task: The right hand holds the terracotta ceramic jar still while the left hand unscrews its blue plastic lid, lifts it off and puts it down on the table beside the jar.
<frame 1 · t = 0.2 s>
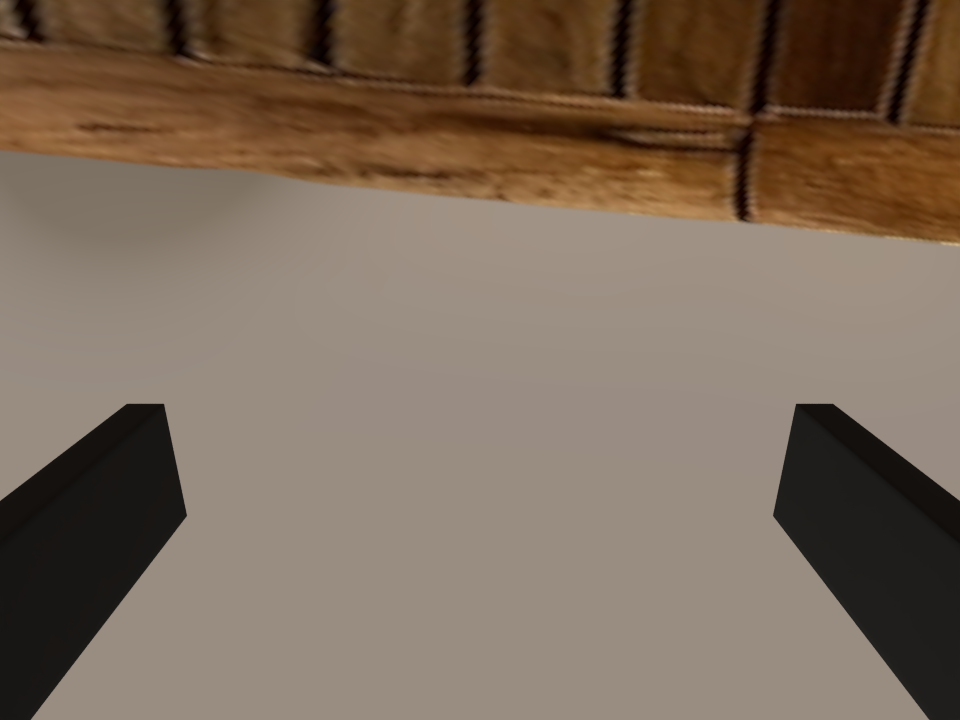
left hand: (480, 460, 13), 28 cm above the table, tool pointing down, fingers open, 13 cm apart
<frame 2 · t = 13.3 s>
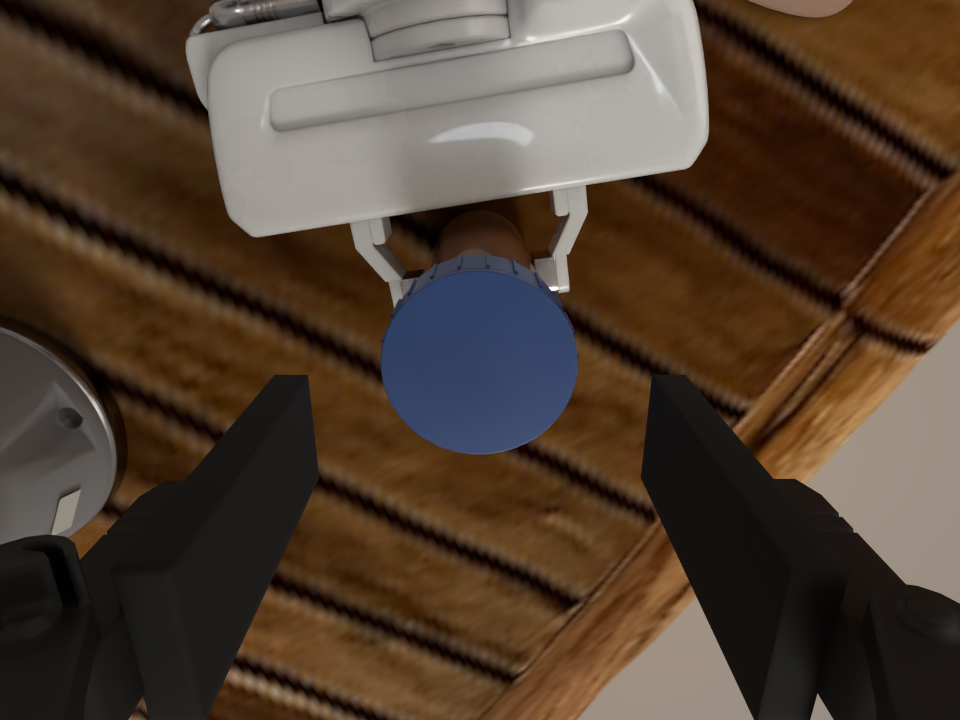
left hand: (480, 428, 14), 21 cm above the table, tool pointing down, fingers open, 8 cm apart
right hand: (483, 301, 28), fingers closed on jar, 5 cm apart
jar: (479, 256, 34), on the table, touching right hand
lid: (479, 363, 18), point 17 cm above the table, screwed on, not yet turned
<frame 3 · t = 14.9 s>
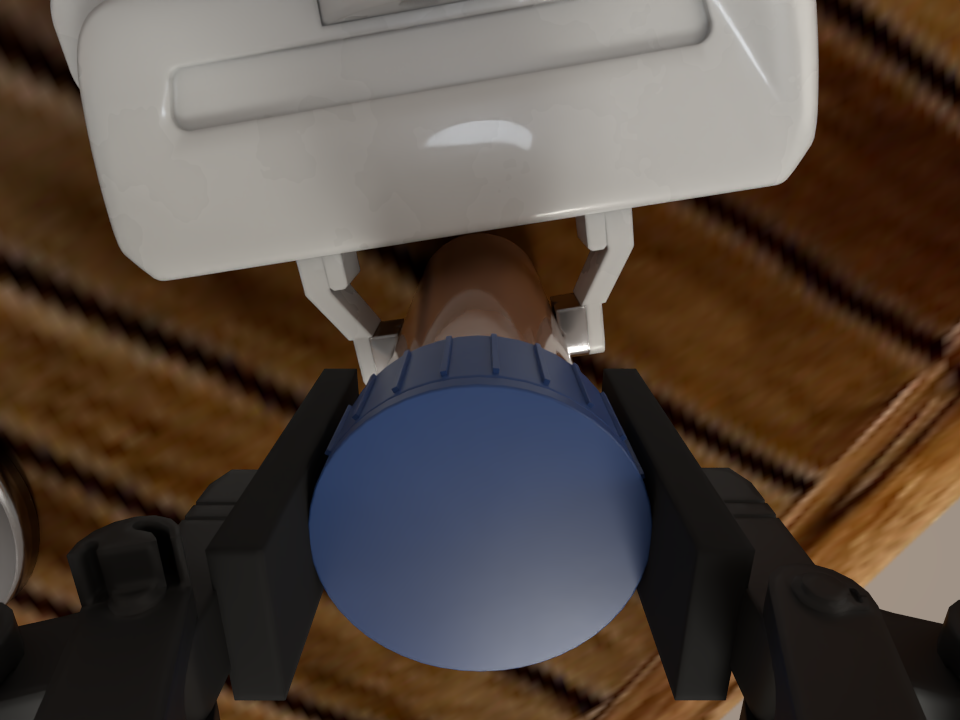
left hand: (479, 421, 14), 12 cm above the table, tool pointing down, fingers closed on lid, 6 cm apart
right hand: (485, 364, 20), fingers closed on jar, 5 cm apart
jar: (480, 292, 26), on the table, touching right hand
lid: (480, 530, 10), point 17 cm above the table, screwed on, not yet turned, touching left hand
when the left hand's fingers open (13 cm above the table, at t = 16.4 s): lid stays where it is, point 17 cm above the table.
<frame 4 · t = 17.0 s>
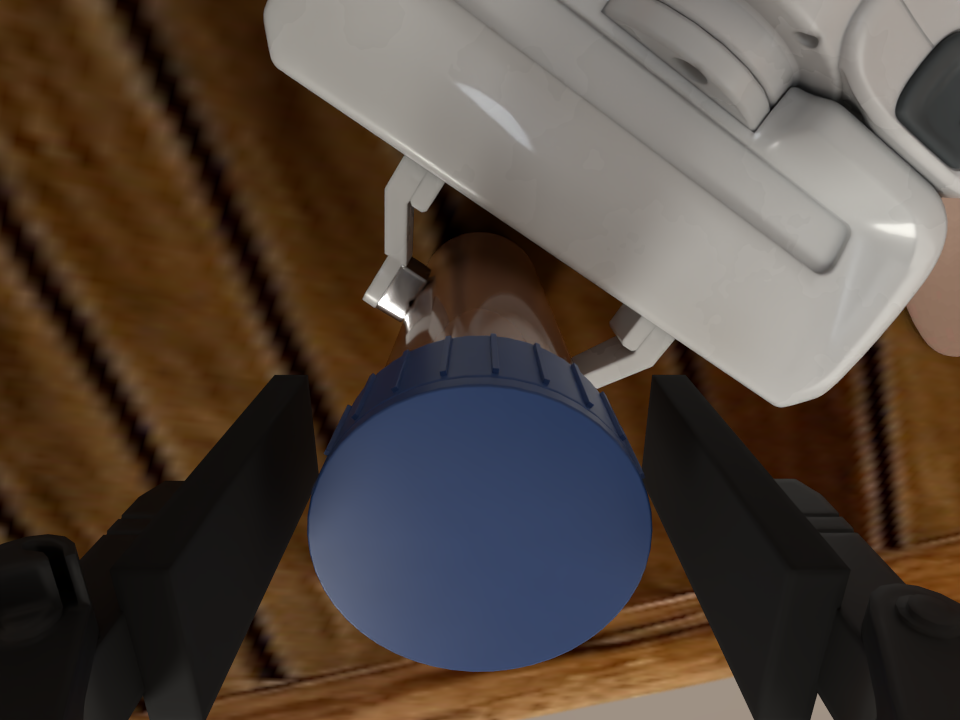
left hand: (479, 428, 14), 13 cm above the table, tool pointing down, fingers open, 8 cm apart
right hand: (466, 358, 21), fingers closed on jar, 5 cm apart
jar: (479, 291, 26), on the table, touching right hand
lid: (479, 530, 10), point 17 cm above the table, turned 91° so far, risen 0.2 cm, still on its thread
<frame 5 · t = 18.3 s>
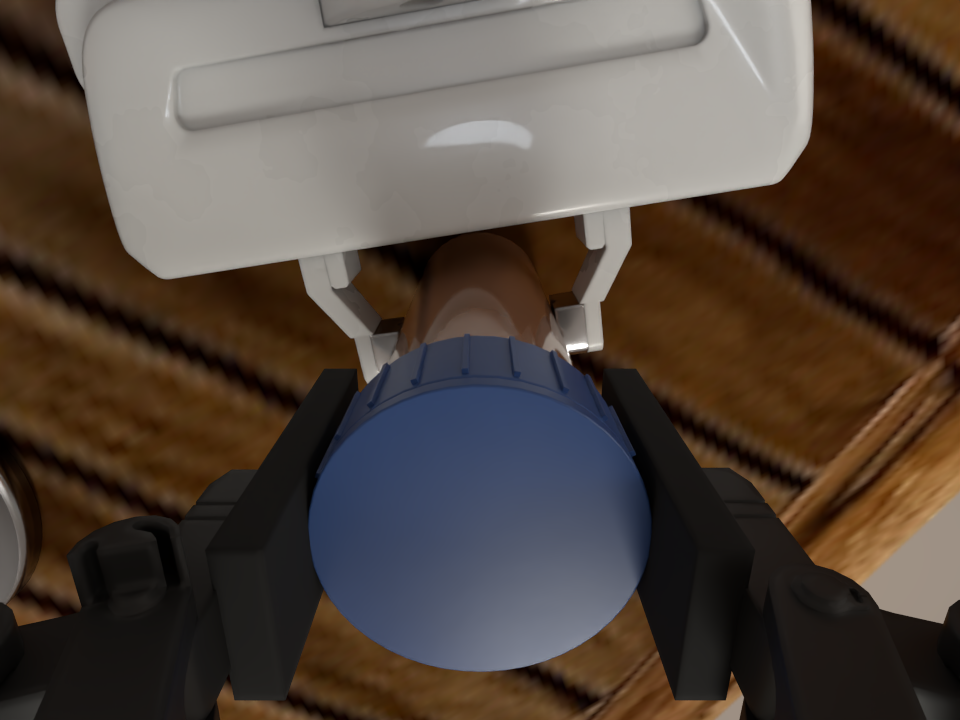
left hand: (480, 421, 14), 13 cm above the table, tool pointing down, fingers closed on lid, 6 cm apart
right hand: (485, 361, 21), fingers closed on jar, 5 cm apart
jar: (479, 291, 26), on the table, touching right hand
lid: (479, 530, 10), point 17 cm above the table, turned 91° so far, risen 0.2 cm, still on its thread, touching left hand
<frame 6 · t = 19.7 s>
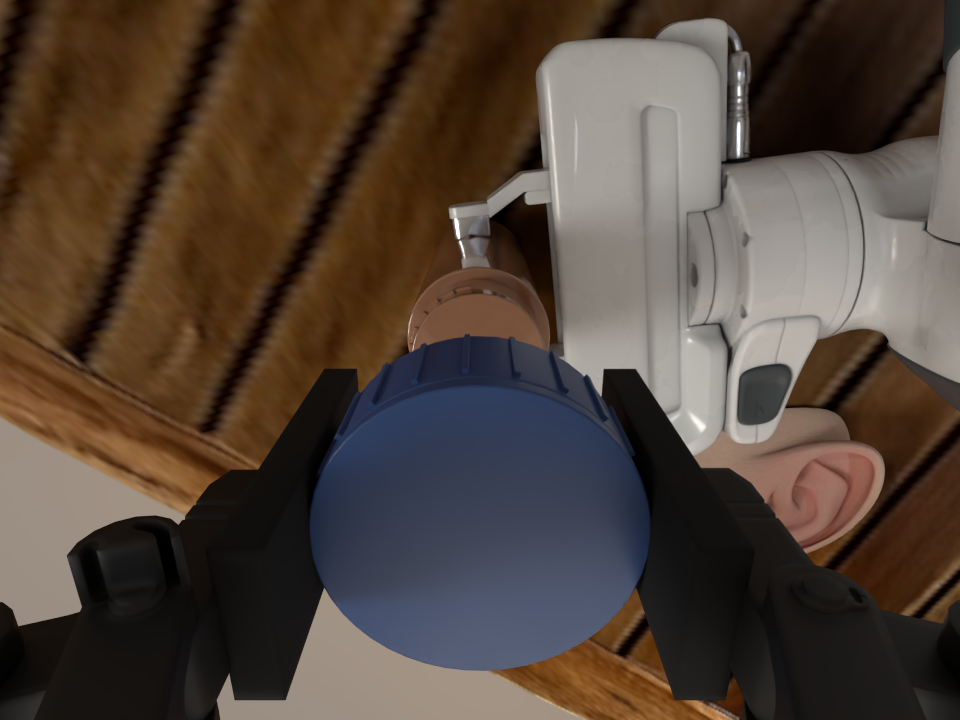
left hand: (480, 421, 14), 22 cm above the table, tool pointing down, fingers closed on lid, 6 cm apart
right hand: (460, 290, 29), fingers closed on jar, 5 cm apart
jar: (478, 262, 35), on the table, touching right hand
anatomical model: (745, 482, 40), on the table
lid: (479, 530, 11), point 26 cm above the table, off its thread, touching left hand
when the left hand's fingers open (0 cm above the table, at t = 25.8 s): lid drops 2 cm, point 2 cm above the table.
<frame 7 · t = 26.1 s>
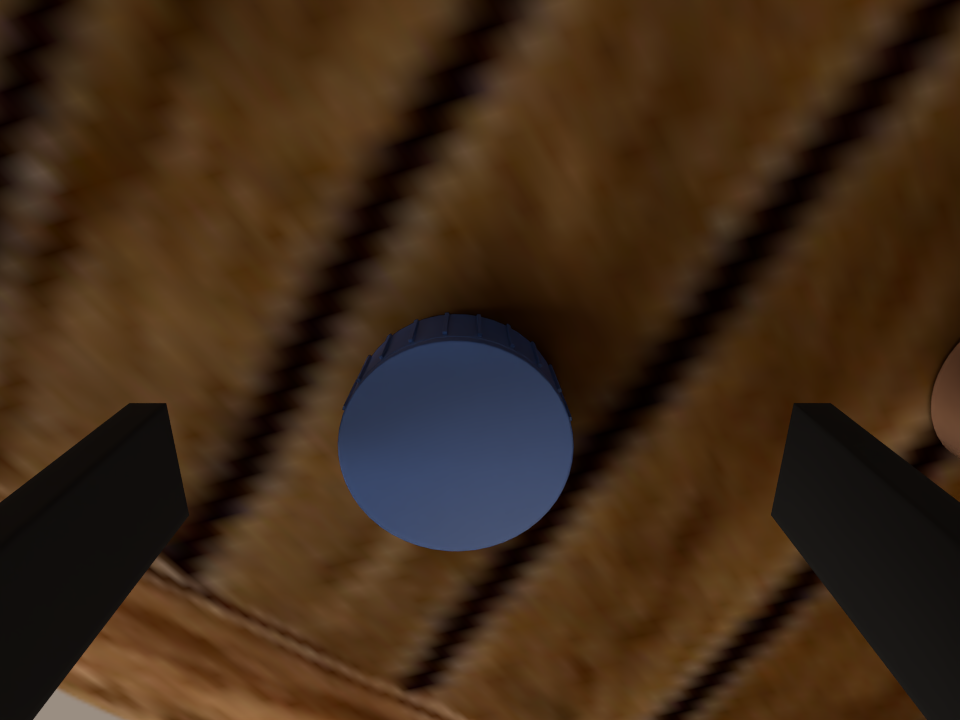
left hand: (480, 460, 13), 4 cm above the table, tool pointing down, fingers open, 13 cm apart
lid: (456, 446, 15), point 2 cm above the table, off its thread
when the right hand's fingers open (6 cm above the table, at t = 26.5 s): jar stays where it is, on the table.
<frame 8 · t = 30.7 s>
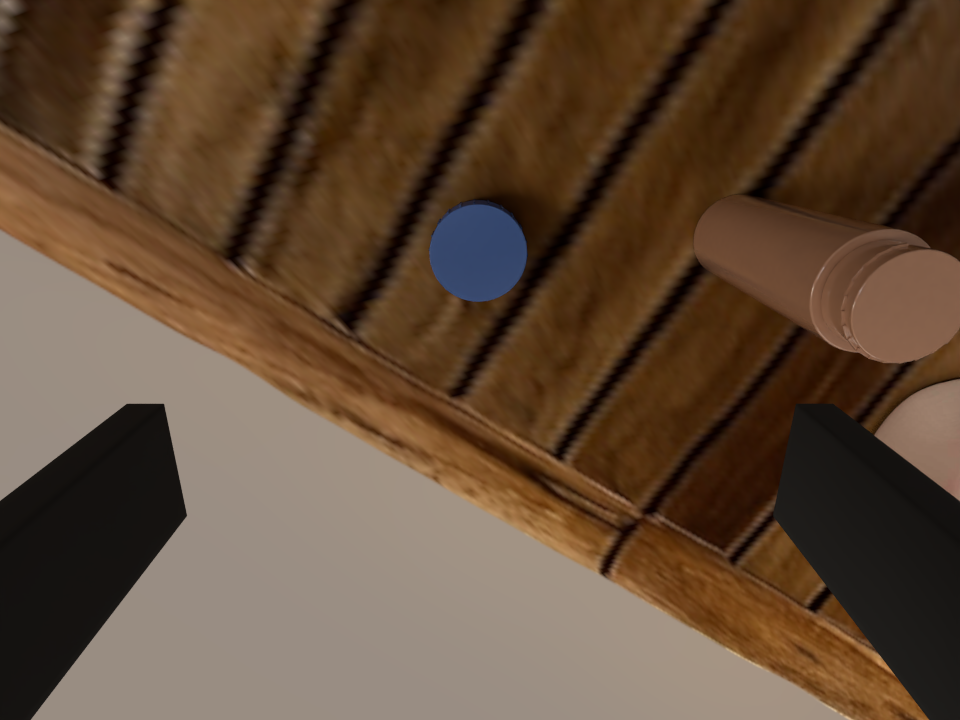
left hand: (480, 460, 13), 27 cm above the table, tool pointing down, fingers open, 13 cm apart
jar: (734, 236, 38), on the table
anatomical model: (953, 444, 43), on the table
lid: (478, 253, 36), point 2 cm above the table, off its thread
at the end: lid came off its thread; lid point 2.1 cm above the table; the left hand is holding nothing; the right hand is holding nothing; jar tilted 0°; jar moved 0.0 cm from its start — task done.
